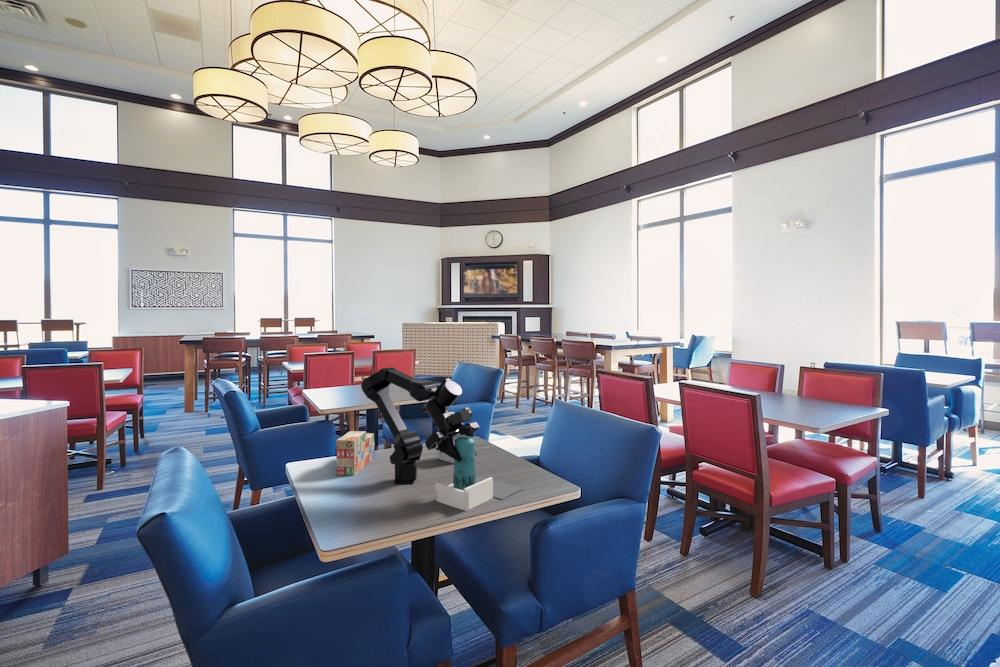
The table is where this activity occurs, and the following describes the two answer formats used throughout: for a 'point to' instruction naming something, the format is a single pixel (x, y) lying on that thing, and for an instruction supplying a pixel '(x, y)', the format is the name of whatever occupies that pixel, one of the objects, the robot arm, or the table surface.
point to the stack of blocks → (354, 452)
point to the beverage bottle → (464, 459)
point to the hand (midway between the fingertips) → (468, 458)
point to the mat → (501, 488)
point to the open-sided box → (465, 494)
